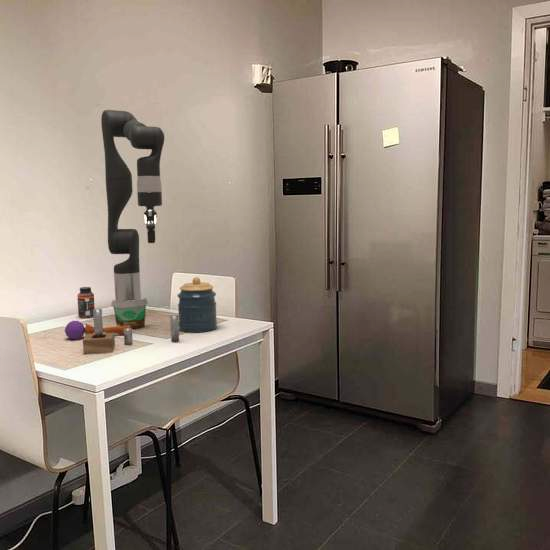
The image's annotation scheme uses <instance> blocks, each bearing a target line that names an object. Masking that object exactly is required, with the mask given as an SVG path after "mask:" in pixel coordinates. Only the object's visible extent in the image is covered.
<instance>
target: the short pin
mask: <svg viewBox="0 0 550 550" xmlns="http://www.w3.org/2000/svg"><path fill="white" fill-rule="evenodd" d="M133 342H134V341H133V330H132V328H124V335H123V343H124V346H126V345H129V346H133V345H132V344H133Z"/></svg>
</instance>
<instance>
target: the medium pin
mask: <svg viewBox="0 0 550 550" xmlns="http://www.w3.org/2000/svg"><path fill="white" fill-rule="evenodd" d="M169 317H170V337H171V338H170V339H171V340H170V341H171V343H174V342H175V343H179V342H180V329H179V315H176V314H175V315H170V316H169ZM178 341H179V342H178Z"/></svg>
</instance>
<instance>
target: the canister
mask: <svg viewBox="0 0 550 550" xmlns="http://www.w3.org/2000/svg"><path fill="white" fill-rule="evenodd" d="M213 289H214V286H213V285H211V284H210V283H209V282H205V281H204V282H203V281H202V282H201V279H200V277H198V276H194V277H193V278H192V282H187V283H184V284H183V285H182V286H180V287H179V290H180V292H179V293H177V297H178V301H179V302H178V303H177V308H178V321H179V331H181V332H186V333H205V332H210V331H214V330H215V329H217V325H218V319H217V302H216V299H215V298H216V295H217V293H216V292H215V291H214V290H213Z"/></svg>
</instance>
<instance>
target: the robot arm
mask: <svg viewBox="0 0 550 550" xmlns="http://www.w3.org/2000/svg"><path fill="white" fill-rule="evenodd" d="M100 119H101V120H100V123H101V133H102V141H103V151H104V161H105V162H104V164H105V165H104V166H105V167H104V169H105V191H106V202H107V203H106V204H107V245H108V246H107V249H108V250H109V253H111V255H129V256H128V258H127V259H126V260H124V261H122V262H120V263H116V264H115V265H114V266H113V278H114V294H115V295H114V296H115V298H114V299H115V300H114V301H127V300H142V294H141V289H142V287H141V275H140V274H141V273H140V271H141V270H140V235H139V232H138V230H137V229H136V228H135V229H134V228H119V221H120V217H121V215H122V214H123V211H124V209H125V208H126V207H127V205H128V203H129V201H130V199H131V198H132V195H133V175H132V172H131V170H130V168H129V166H128V165H127V163H126V161H124V160H123V158H122V156H121V155H120V153H119V151H118V150H117V147H116V143H115V139H114V138H126V139H127V140H128V141H129V142H130V145H131V147H132V148H134V149H137V150H151V153H150V154H149V155H148V156H141V157H139V158H138V159H137V160H136V173H137V177H136V178H137V180H136V192H137V193H136V195H137V206H138V207H145V208H146V209H145V212H143V217H144V225H145V228H146V229H145V230H146V231H147V232H146V233H147V243H148V244H155V243H156V225H157V218H158V213H157V211H156V210H155V207H162V205H163V199H162V197H163V196H162V195H163V193H162V181H161V166H160V165H161V157H162V152H163V147H164V143H165V133H164V131H163V129H161V128H160V127H158V126H150V125H148V126H147V125H146V124H144V123H143V122H141V121H138V119H137V118H136V117H135V115H133V114H132V112H129V111H126V110H115V109H114V110H113V109H105V110H102V113H101V118H100Z"/></svg>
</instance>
